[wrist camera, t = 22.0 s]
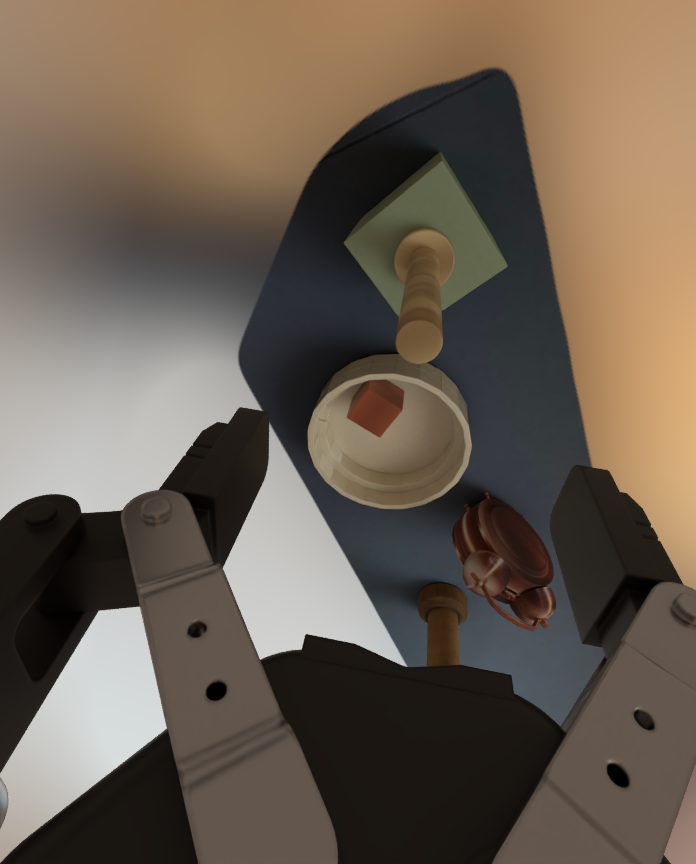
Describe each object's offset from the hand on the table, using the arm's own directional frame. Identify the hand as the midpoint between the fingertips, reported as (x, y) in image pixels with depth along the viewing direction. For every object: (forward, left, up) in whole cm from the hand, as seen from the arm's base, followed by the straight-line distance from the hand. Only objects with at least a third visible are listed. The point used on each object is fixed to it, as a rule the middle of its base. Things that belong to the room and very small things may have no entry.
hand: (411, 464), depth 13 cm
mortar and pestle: (+41, -25, -34) cm, 59 cm away
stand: (0, 0, -34) cm, 34 cm away
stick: (0, 0, -24) cm, 24 cm away
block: (+10, -13, -34) cm, 37 cm away
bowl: (+14, -14, -34) cm, 39 cm away
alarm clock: (+31, -11, -34) cm, 48 cm away
